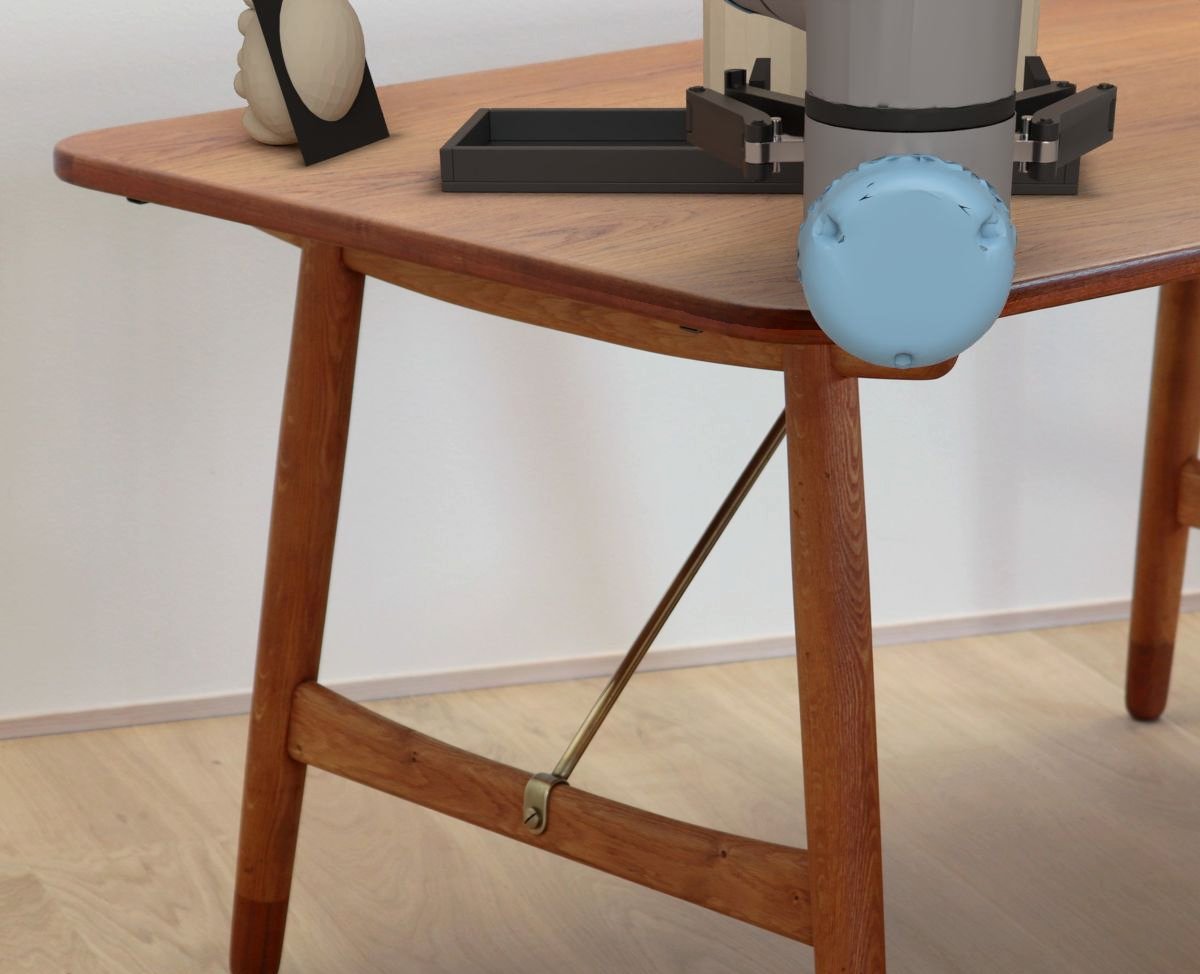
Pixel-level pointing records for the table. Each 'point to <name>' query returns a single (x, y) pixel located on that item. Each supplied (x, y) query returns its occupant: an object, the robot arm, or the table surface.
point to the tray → (620, 156)
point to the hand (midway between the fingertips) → (895, 83)
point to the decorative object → (307, 77)
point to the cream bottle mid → (752, 48)
